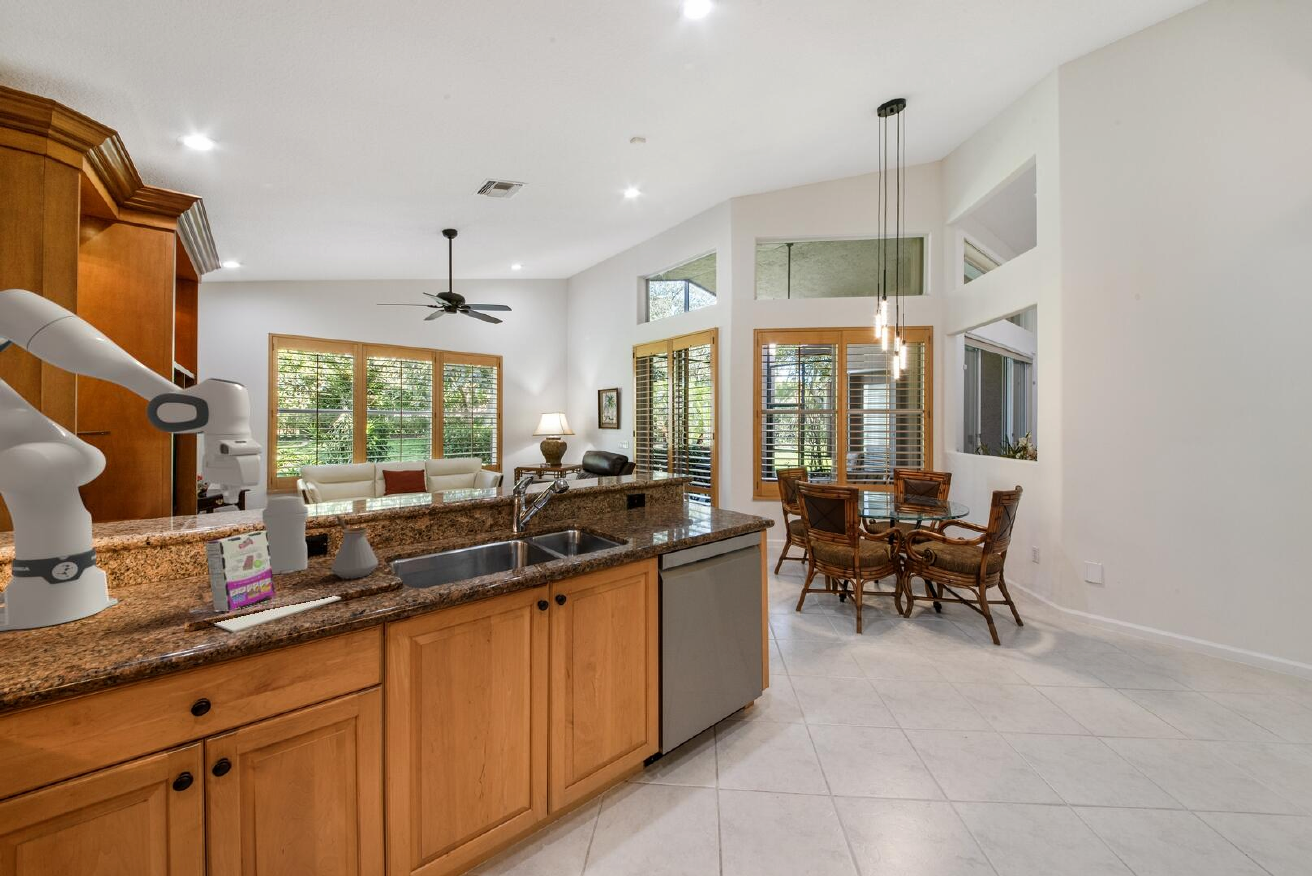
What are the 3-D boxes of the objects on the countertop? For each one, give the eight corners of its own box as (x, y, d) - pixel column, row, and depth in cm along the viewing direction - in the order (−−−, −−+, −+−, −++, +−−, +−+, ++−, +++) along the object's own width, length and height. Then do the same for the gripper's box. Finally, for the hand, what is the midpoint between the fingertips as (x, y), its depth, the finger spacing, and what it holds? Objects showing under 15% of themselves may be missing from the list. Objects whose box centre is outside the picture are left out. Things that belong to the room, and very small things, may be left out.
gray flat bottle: (308, 566, 151) (306, 493, 150) (309, 569, 148) (308, 495, 147) (263, 573, 144) (261, 497, 143) (264, 577, 141) (262, 498, 140)
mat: (203, 620, 110) (203, 618, 110) (310, 590, 130) (310, 589, 130) (233, 632, 104) (233, 630, 104) (340, 599, 124) (340, 597, 124)
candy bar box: (259, 596, 126) (252, 531, 125) (275, 595, 125) (268, 530, 124) (211, 613, 115) (203, 541, 114) (229, 612, 114) (221, 540, 113)
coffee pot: (384, 574, 144) (383, 522, 143) (338, 583, 135) (337, 528, 135) (358, 560, 158) (358, 512, 158) (316, 567, 150) (315, 517, 149)
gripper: (192, 445, 124) (194, 501, 125) (234, 447, 115) (236, 508, 115) (223, 444, 130) (225, 498, 130) (265, 446, 120) (268, 503, 121)
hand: (231, 502), depth 123 cm, fingers closed
